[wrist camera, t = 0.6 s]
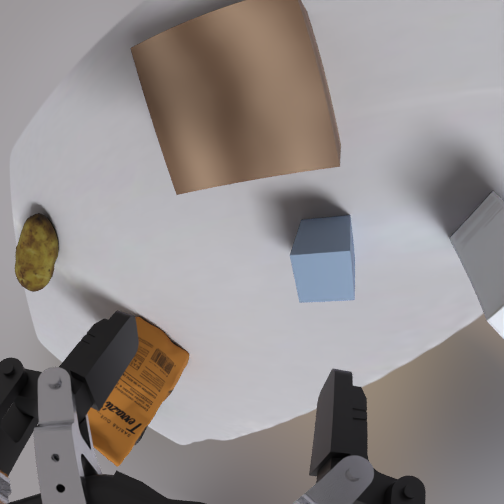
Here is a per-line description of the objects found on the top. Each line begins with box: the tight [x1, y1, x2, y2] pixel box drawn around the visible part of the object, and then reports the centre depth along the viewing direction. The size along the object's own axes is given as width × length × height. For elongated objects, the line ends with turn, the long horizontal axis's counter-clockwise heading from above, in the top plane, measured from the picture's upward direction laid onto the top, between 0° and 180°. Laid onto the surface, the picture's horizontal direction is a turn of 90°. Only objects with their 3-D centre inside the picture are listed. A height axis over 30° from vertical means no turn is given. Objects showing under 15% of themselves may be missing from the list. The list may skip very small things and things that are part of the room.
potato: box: [15, 213, 58, 292], centre depth 43 cm, size 8×13×8 cm, turn 141°
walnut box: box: [131, 0, 341, 195], centre depth 23 cm, size 13×13×8 cm
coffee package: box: [87, 317, 189, 466], centre depth 41 cm, size 10×12×22 cm
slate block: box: [290, 215, 355, 302], centre depth 29 cm, size 5×5×7 cm
